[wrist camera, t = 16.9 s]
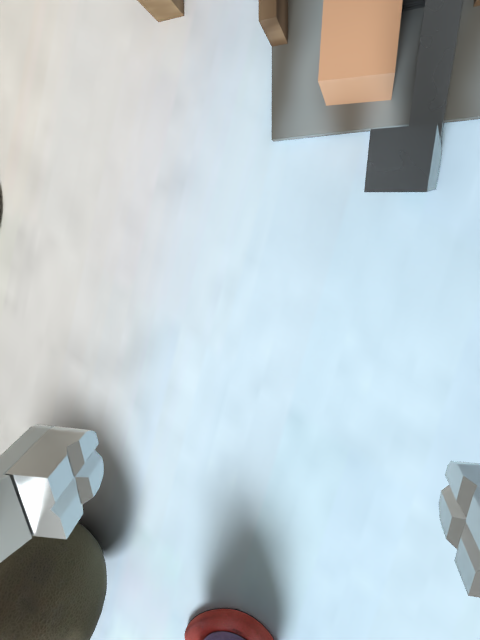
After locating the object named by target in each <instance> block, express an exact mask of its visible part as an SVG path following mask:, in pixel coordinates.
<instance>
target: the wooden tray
mask: <svg viewBox="0 0 480 640" xmlns="http://www.w3.org/2000/svg"><path fill="white" fill-rule="evenodd" d="M424 8H425V7H423V8H418V9H413V10H408V11H403V12H401V21H400V30H399V40H398V49H397V58H396V68H395V76H394V84H393V91H392V98H391V100H385V101H374V102H362V103H351V104H340V105H328V106H326V103H325V100H324V97H323V94H322V91H321V88H320V86H319V83H318V74H319V59H320V44H321V29H322V14H323V0H259V22H260V24H261V26H262V28H263V30H264V32H265V34H266V36H267V38H268V40H269V42H270V44H271V46H272V140H273V141H282V140H291V139H301V138H310V137H319V136H328V135H337V134H346V133H355V132H365V131H371V129H379V128H392V127H405V126H409V120H410V112H411V105H412V97H413V90H414V82H415V75H416V67H417V60H418V52H419V45H420V38H421V30H422V23H423V15H424ZM474 119H480V0H464V1H463V7H462V13H461V19H460V26H459V32H458V38H457V44H456V50H455V56H454V63H453V69H452V75H451V81H450V87H449V93H448V100H447V106H446V112H445V118H444V123H447V122H456V121H465V120H474Z"/></svg>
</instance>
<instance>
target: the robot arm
mask: <svg viewBox="0 0 480 640" xmlns="http://www.w3.org/2000/svg"><path fill="white" fill-rule="evenodd" d="M98 444H99V442H98V438H97V435H96V432H94V431H92V430H85V429H76V428H67V427H59V426H55V427H54V426H46V425H35V426H32V427H30V428H29V429H28V430H27V431H26V432H25V433H24V434H23V435H22V436H21V437H20V438H19V439H18V440H17V441H15V442H14V443H13V444H12V445H11V446H10V447H9V448H8V449H7V450H6V451H5V452H4V453H3V454H2V455H1V456H0V563H1V562H2V561H3V560H4V559H6V558H7V557H8V556H10V555H11V554H12V553H13V552H15V551H16V550H17V549H19V548H20V547H21V546H22V545H24V544H25V543H26V542H28V541H29V540H30V539H32V536H38V537H48V538H57V539H67V538H68V537H69V535H70V534H71V532H72V530H73V529H74V527H75V526H76V524H77V523H78V521H79V520H80V518H81V516H82V515H83V504H84V503H86V502H87V501H89V500H90V499H92V498H93V497H94V496H95V494H96V493H97V491H98V489H99V488H100V485H101V481H102V478H103V475H104V464H103V459H102V457H101V456H100V455H99V454H98V453H97V452H96V450H95V449H96V447H97V446H98ZM445 476H446V479H447V481H448V483H449V485H448V486H447V487H446V488H444V489H443V490H442V491H441V494H440V500H439V516H440V521H441V525H442V529H443V531H444V534H445V537H446V539H447V540H448V541H449V542H450V543H451V544H452V545H453V546H454V547H455V548H456V549H457V553H456V557H455V560H454V561H455V563H456V566H457V568H458V571H459V573H460V576H461V578H462V581H463V584H464V586H465V589H466V591H467V594H468V596H474V597H480V463H469V462H456V461H451V462H450V463H449V464H448V466H447V469H446V473H445Z"/></svg>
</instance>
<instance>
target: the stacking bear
mask: <svg viewBox="0 0 480 640" xmlns="http://www.w3.org/2000/svg"><path fill="white" fill-rule="evenodd" d="M185 640H274V639H273V637H272V636H271V634H270V633H269V632H268V630H267V629H266V628H265V627H264V626H263V625H262V624H261V623H260V622H258V621H257V620H256V619H254V618H253V617H251V616H250V615H248V614H246V613H244V612H241V611H238V610H233V609H214V610H210V611H206V612H203V613H201V614H199V615H198V616H196V617H195V618H194V619H193V620H192V621H191V622H190V623H189V624H188V626H187V628H186V631H185Z"/></svg>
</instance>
